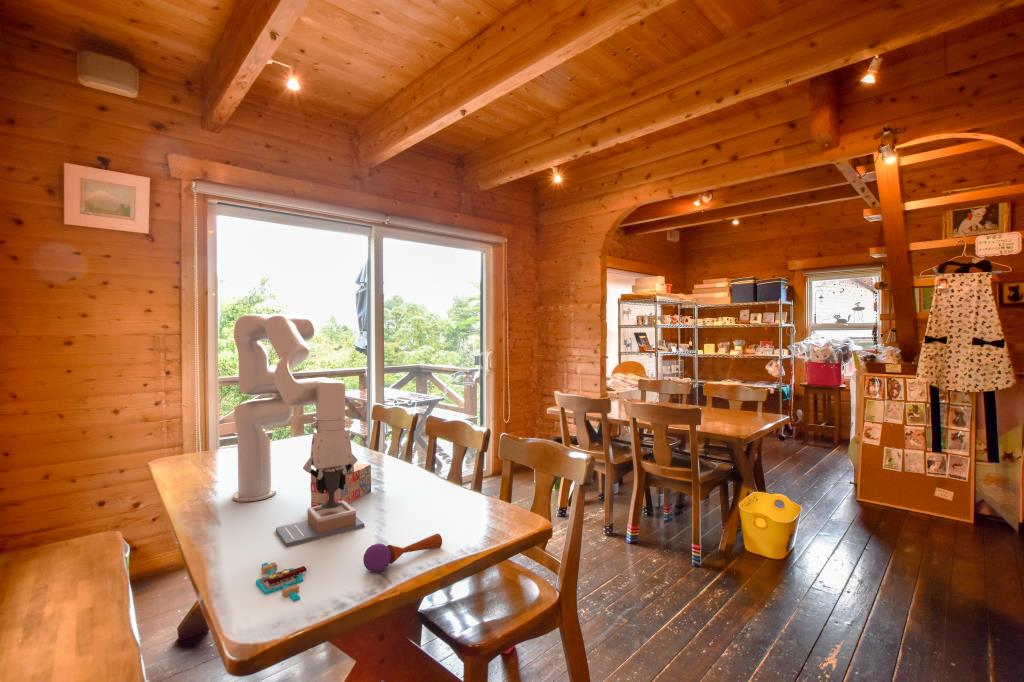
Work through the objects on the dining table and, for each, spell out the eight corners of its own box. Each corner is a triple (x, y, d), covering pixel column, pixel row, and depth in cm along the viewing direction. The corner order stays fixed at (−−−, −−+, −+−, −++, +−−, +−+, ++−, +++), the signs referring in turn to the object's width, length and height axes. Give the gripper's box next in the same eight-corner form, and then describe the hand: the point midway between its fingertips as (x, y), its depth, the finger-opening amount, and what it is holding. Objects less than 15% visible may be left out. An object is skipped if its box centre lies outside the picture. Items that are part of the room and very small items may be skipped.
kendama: (447, 535, 118) (373, 555, 104) (443, 557, 118) (369, 581, 104) (433, 523, 122) (360, 542, 108) (429, 545, 123) (356, 566, 108)
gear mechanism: (288, 559, 114) (245, 574, 107) (288, 537, 114) (245, 550, 107) (323, 593, 100) (276, 611, 93) (323, 567, 99) (276, 584, 93)
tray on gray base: (275, 531, 129) (275, 513, 129) (349, 514, 141) (349, 497, 141) (286, 547, 120) (286, 528, 119) (364, 527, 132) (364, 509, 132)
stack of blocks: (356, 489, 164) (356, 453, 164) (371, 491, 162) (371, 455, 161) (310, 511, 144) (310, 471, 143) (327, 514, 142) (327, 473, 141)
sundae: (348, 503, 134) (349, 449, 134) (332, 511, 128) (333, 455, 128) (329, 499, 136) (330, 447, 136) (312, 507, 130) (313, 453, 130)
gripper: (302, 431, 124) (302, 500, 124) (365, 423, 134) (366, 487, 135) (294, 426, 130) (294, 493, 130) (356, 419, 140) (356, 481, 140)
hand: (331, 489), depth 132 cm, fingers closed on sundae, 4 cm apart
